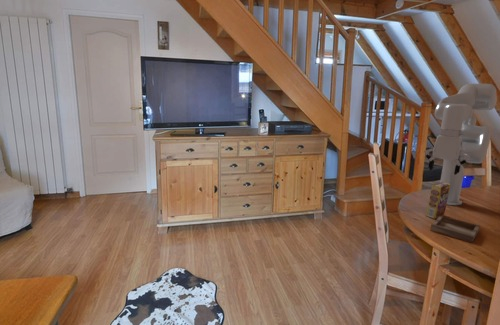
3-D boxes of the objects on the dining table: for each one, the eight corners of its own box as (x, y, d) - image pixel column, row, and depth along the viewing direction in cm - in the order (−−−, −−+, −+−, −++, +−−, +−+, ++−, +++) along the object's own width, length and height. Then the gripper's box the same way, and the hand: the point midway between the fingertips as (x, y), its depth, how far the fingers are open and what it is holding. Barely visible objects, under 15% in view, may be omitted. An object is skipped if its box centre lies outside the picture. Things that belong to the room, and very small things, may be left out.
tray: (439, 220, 137) (440, 215, 137) (478, 231, 128) (480, 225, 127) (430, 230, 127) (431, 224, 127) (472, 242, 118) (473, 236, 117)
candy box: (435, 219, 138) (441, 187, 135) (425, 216, 142) (431, 184, 138) (445, 215, 143) (451, 184, 140) (435, 212, 147) (441, 181, 143)
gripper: (475, 135, 131) (467, 174, 134) (430, 130, 142) (424, 166, 146) (472, 136, 125) (464, 177, 129) (425, 131, 137) (419, 169, 141)
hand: (443, 171), depth 137 cm, fingers open, 9 cm apart
